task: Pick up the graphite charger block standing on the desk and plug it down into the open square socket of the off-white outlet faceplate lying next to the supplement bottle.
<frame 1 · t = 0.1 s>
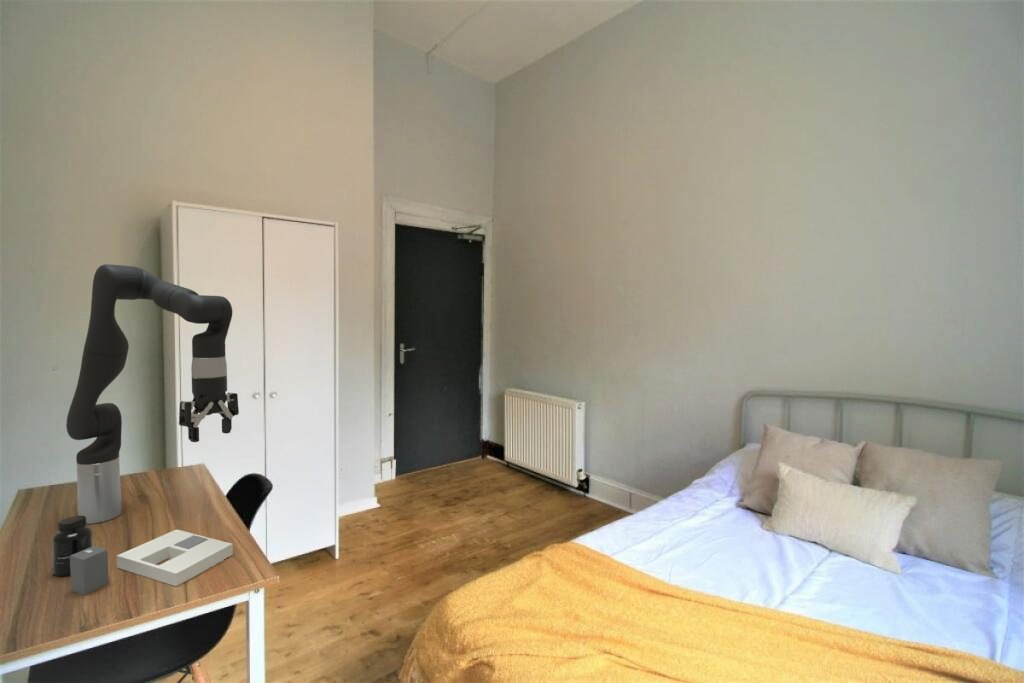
hand: (210, 437, 118), 29 cm above the table, fingers open, 8 cm apart
supplement bottle: (73, 569, 109), on the table
outlet plate: (176, 561, 113), on the table
charger: (90, 587, 102), on the table
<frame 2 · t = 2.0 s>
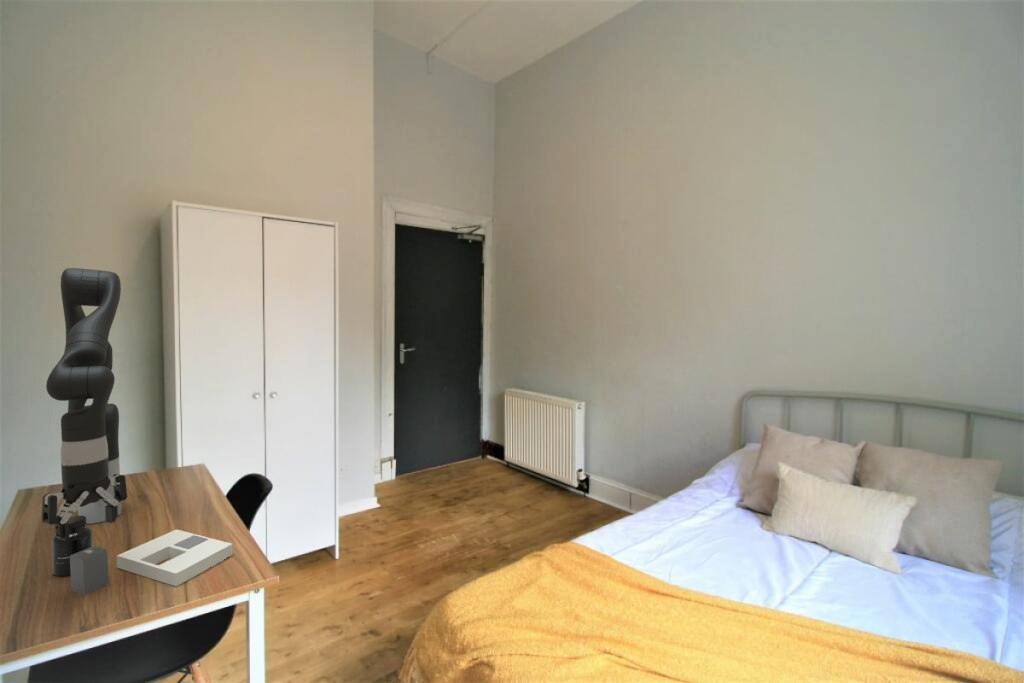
hand: (88, 530, 101), 13 cm above the table, fingers open, 8 cm apart
nothing on the table moved.
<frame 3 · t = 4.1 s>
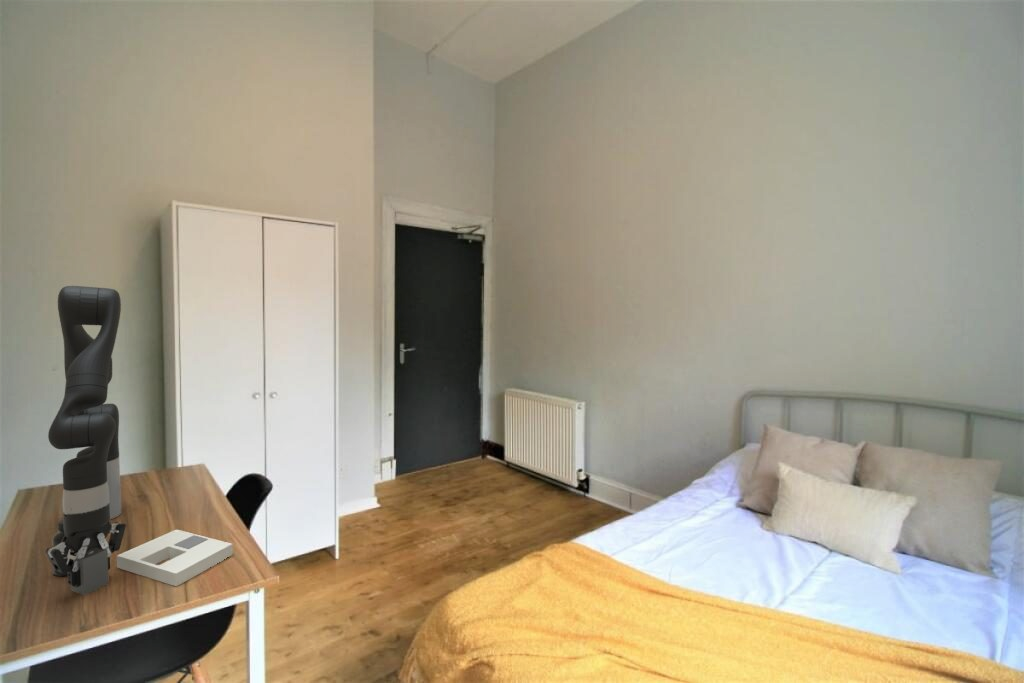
hand: (89, 579, 102), 2 cm above the table, fingers closed on charger, 4 cm apart
charger: (90, 587, 102), on the table, touching gripper
everything else where it was.
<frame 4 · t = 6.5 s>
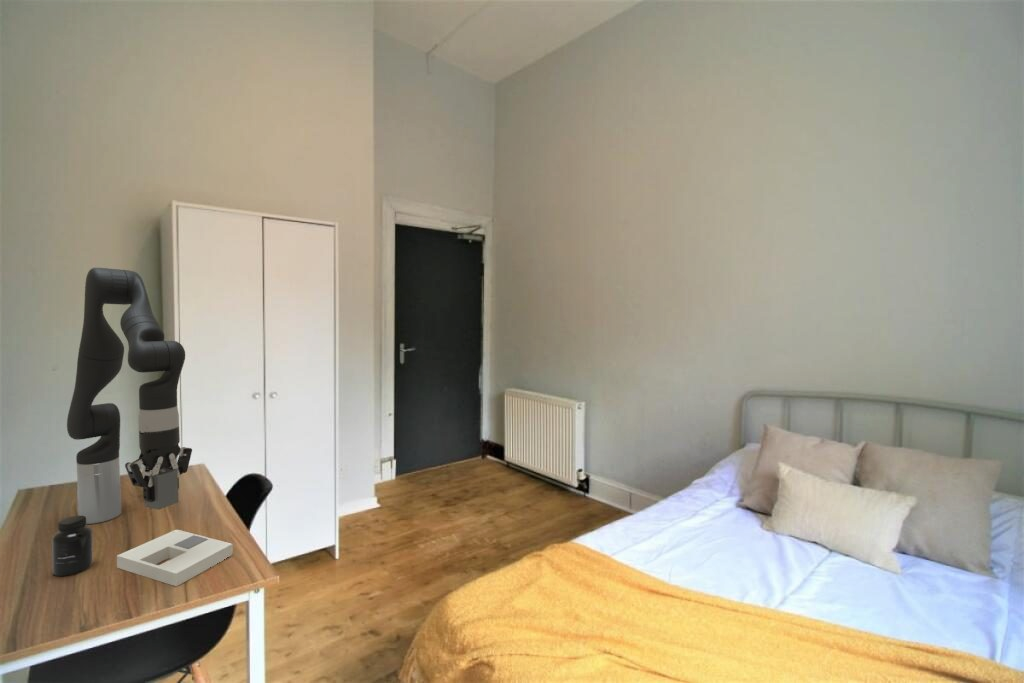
hand: (161, 496, 109), 17 cm above the table, fingers closed on charger, 4 cm apart
charger: (162, 504, 109), point 16 cm above the table, touching gripper
everything else where it was.
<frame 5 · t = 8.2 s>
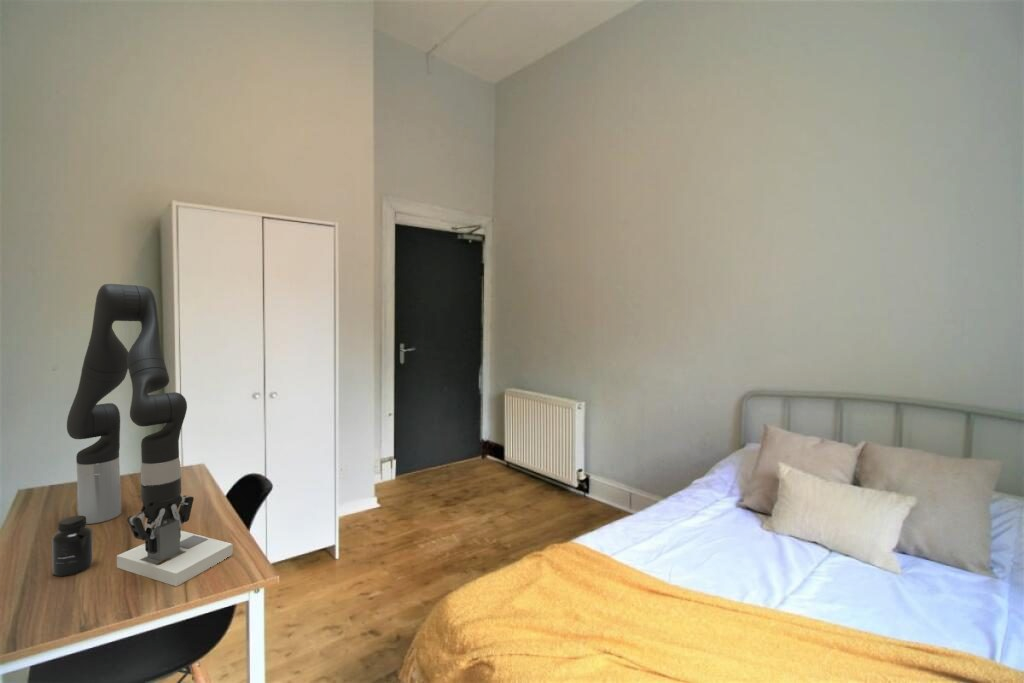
hand: (163, 547, 110), 5 cm above the table, fingers closed on charger, 4 cm apart
charger: (164, 554, 110), point 3 cm above the table, touching gripper
everything else where it was.
when the fingers open (4 cm above the table, at t = 9.3 s): charger drops 2 cm, resting in outlet plate.
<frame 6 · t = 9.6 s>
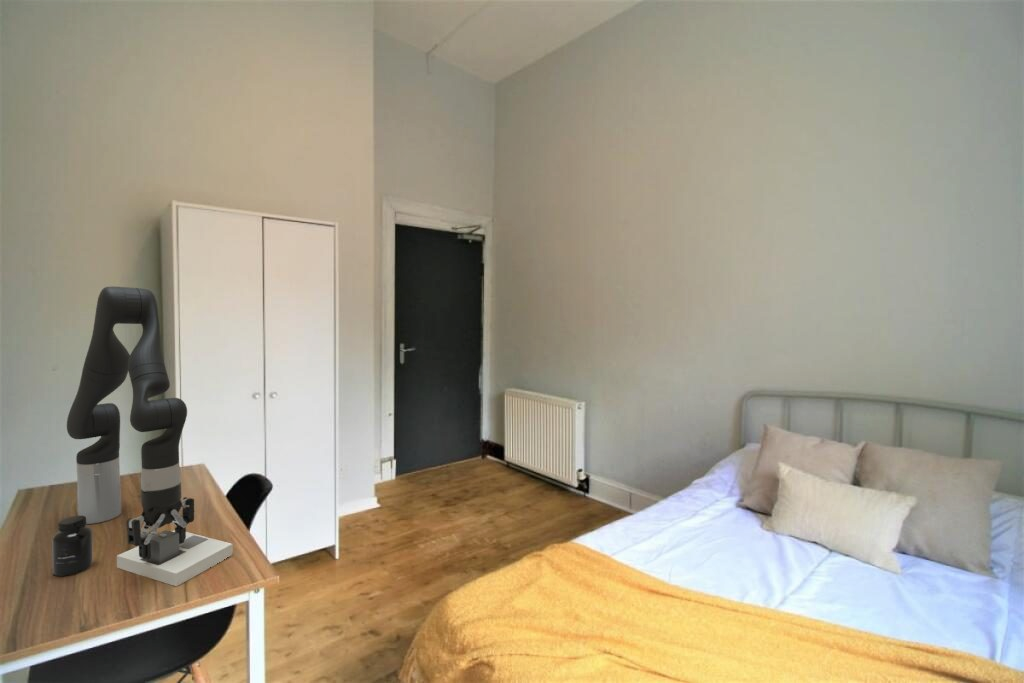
hand: (163, 550, 110), 4 cm above the table, fingers open, 7 cm apart
charger: (163, 568, 110), resting in outlet plate
everything else where it was.
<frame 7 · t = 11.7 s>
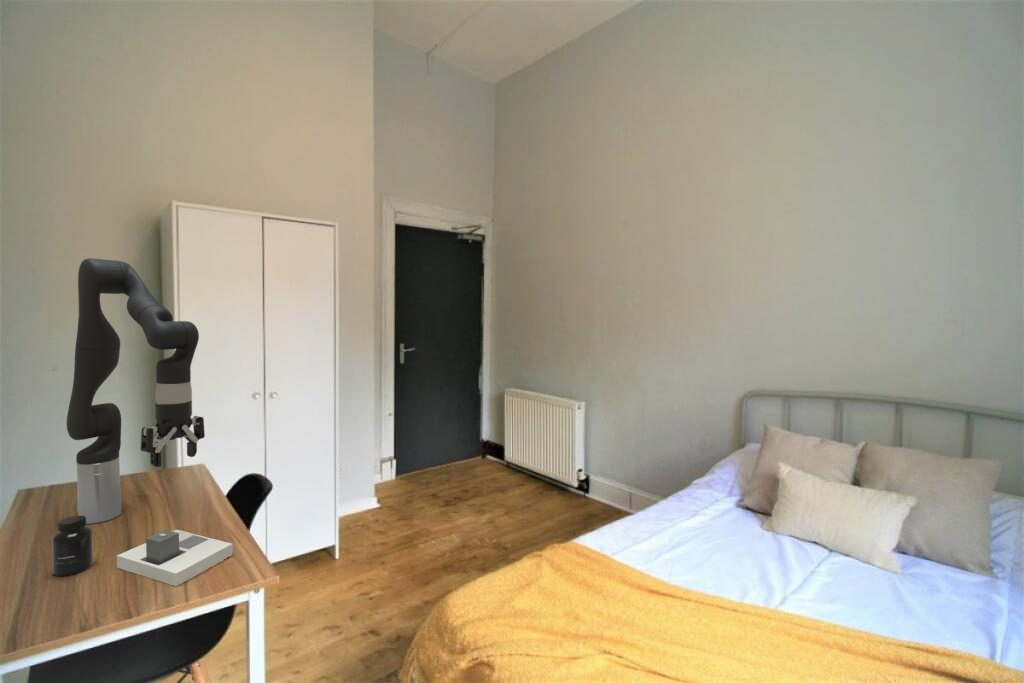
hand: (174, 461, 118), 23 cm above the table, fingers open, 8 cm apart
nothing on the table moved.
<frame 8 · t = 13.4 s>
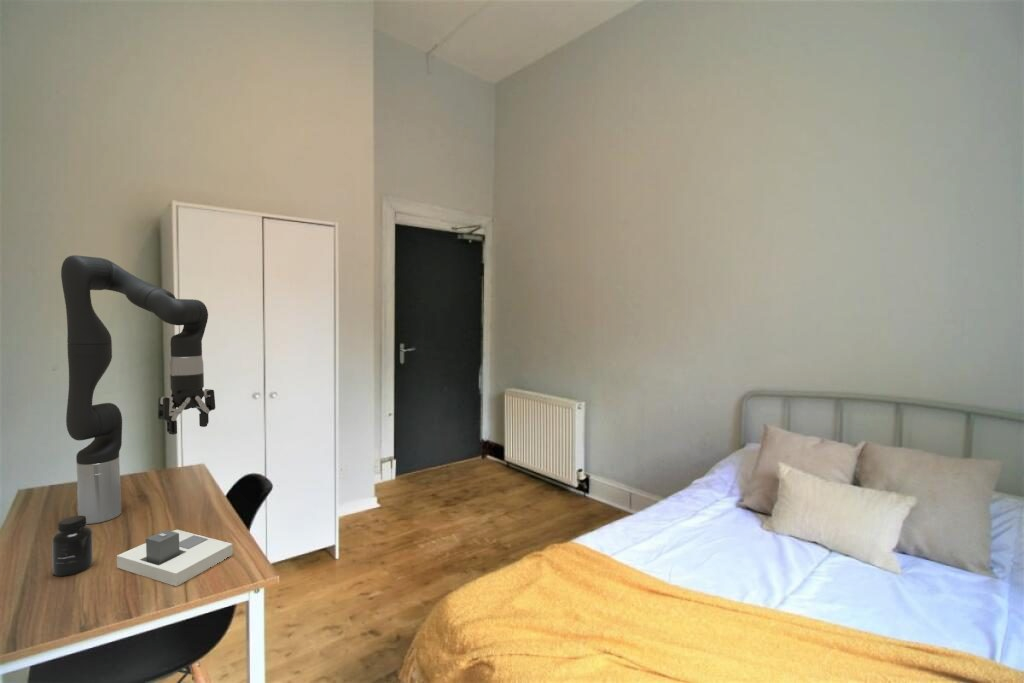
hand: (188, 430, 127), 28 cm above the table, fingers open, 8 cm apart
nothing on the table moved.
at the end: charger 0.1 cm from the target spot on the outlet plate, point 0.0 cm above the outlet plate's base; charger tilted 0°; the gripper is holding nothing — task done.
